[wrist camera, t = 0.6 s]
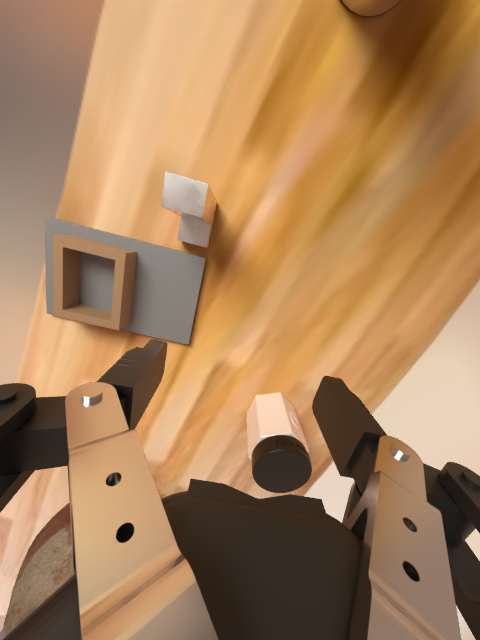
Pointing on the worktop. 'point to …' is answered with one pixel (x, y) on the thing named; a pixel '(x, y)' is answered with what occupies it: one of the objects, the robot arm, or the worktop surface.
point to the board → (120, 282)
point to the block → (190, 207)
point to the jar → (276, 444)
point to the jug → (42, 569)
